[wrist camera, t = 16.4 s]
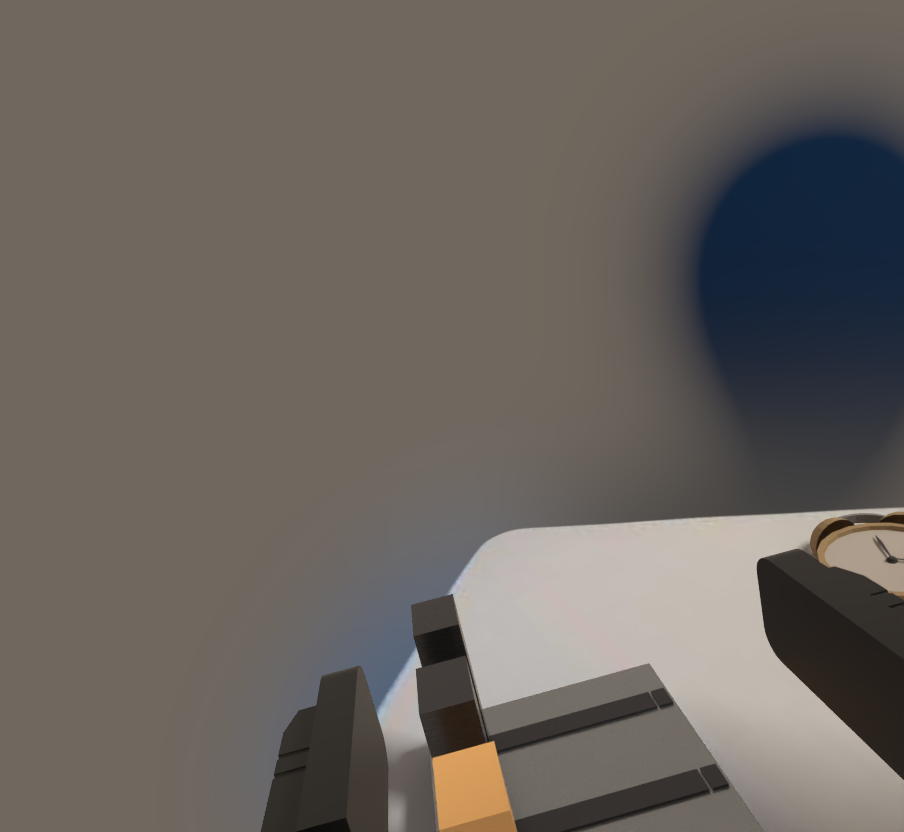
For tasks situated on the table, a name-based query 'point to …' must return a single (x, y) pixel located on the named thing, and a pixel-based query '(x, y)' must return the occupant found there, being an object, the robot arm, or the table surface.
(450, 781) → the orange rectangular block
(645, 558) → the table surface
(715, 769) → the grey slotted base
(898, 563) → the alarm clock
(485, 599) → the table surface
